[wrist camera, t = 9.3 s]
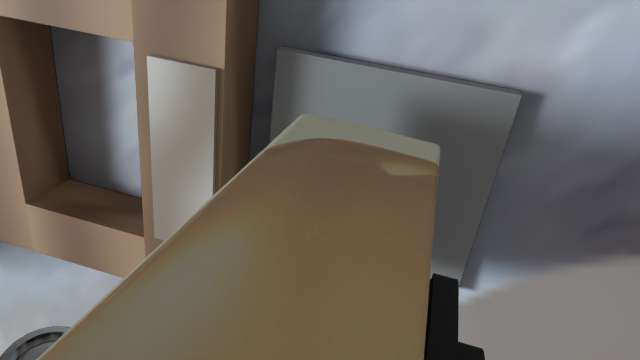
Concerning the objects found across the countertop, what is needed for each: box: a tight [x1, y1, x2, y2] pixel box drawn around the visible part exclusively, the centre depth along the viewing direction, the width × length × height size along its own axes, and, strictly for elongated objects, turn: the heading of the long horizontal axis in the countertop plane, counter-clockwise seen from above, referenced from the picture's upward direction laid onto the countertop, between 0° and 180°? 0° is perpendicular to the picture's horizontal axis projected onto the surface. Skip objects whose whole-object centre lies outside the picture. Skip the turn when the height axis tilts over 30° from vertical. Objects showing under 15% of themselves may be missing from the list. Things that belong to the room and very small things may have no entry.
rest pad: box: [269, 46, 522, 285], centre depth 17 cm, size 8×8×1 cm
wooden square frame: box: [0, 0, 259, 278], centre depth 18 cm, size 12×12×3 cm
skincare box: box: [36, 114, 440, 360], centre depth 9 cm, size 6×4×12 cm
